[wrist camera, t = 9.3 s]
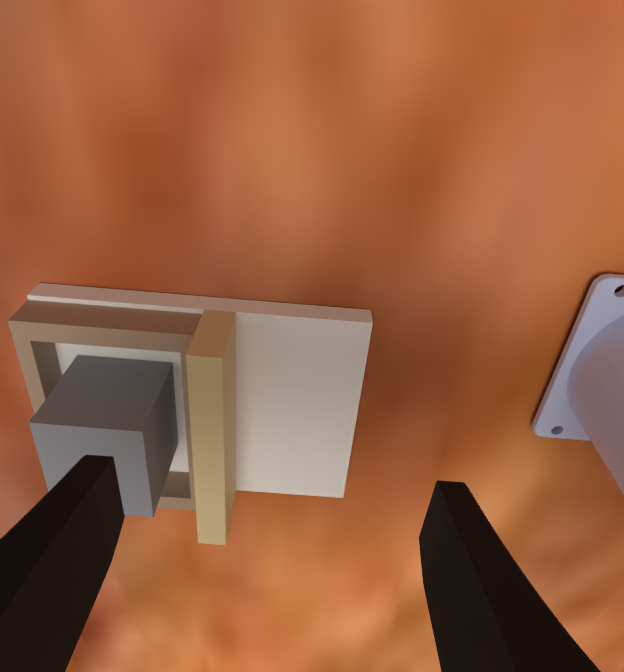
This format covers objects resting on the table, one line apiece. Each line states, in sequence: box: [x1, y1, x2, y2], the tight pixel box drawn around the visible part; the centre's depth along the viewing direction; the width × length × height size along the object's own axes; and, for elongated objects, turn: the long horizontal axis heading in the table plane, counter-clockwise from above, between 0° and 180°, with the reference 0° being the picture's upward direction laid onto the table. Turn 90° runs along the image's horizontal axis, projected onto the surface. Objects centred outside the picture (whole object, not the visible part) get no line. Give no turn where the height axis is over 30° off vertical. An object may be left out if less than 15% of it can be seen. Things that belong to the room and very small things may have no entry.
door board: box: [8, 283, 373, 545], centre depth 21 cm, size 13×10×4 cm
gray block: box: [29, 355, 178, 517], centre depth 20 cm, size 4×4×4 cm
